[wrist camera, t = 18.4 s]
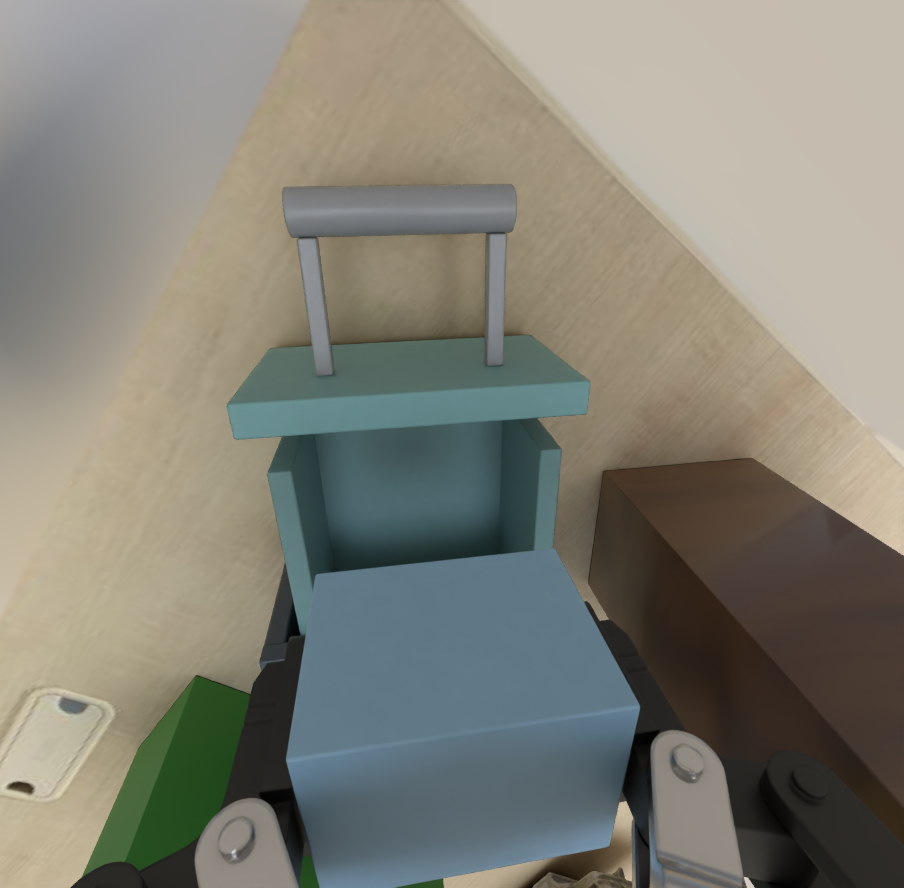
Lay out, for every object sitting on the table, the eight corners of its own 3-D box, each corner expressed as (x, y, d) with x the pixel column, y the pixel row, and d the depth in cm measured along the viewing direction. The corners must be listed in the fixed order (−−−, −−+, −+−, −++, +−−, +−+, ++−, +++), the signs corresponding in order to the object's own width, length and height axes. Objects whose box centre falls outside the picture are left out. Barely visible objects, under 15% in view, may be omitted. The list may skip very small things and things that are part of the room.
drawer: (241, 193, 18) (173, 182, 12) (539, 189, 19) (614, 178, 13) (313, 593, 26) (295, 708, 20) (518, 570, 28) (559, 671, 22)
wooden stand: (603, 470, 27) (1243, 1188, 7) (752, 457, 28) (1666, 1046, 8) (588, 584, 30) (989, 1278, 11) (721, 568, 31) (1310, 1169, 12)
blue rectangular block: (337, 699, 14) (322, 902, 10) (314, 573, 12) (284, 761, 8) (543, 670, 14) (610, 848, 10) (555, 547, 12) (642, 706, 8)
